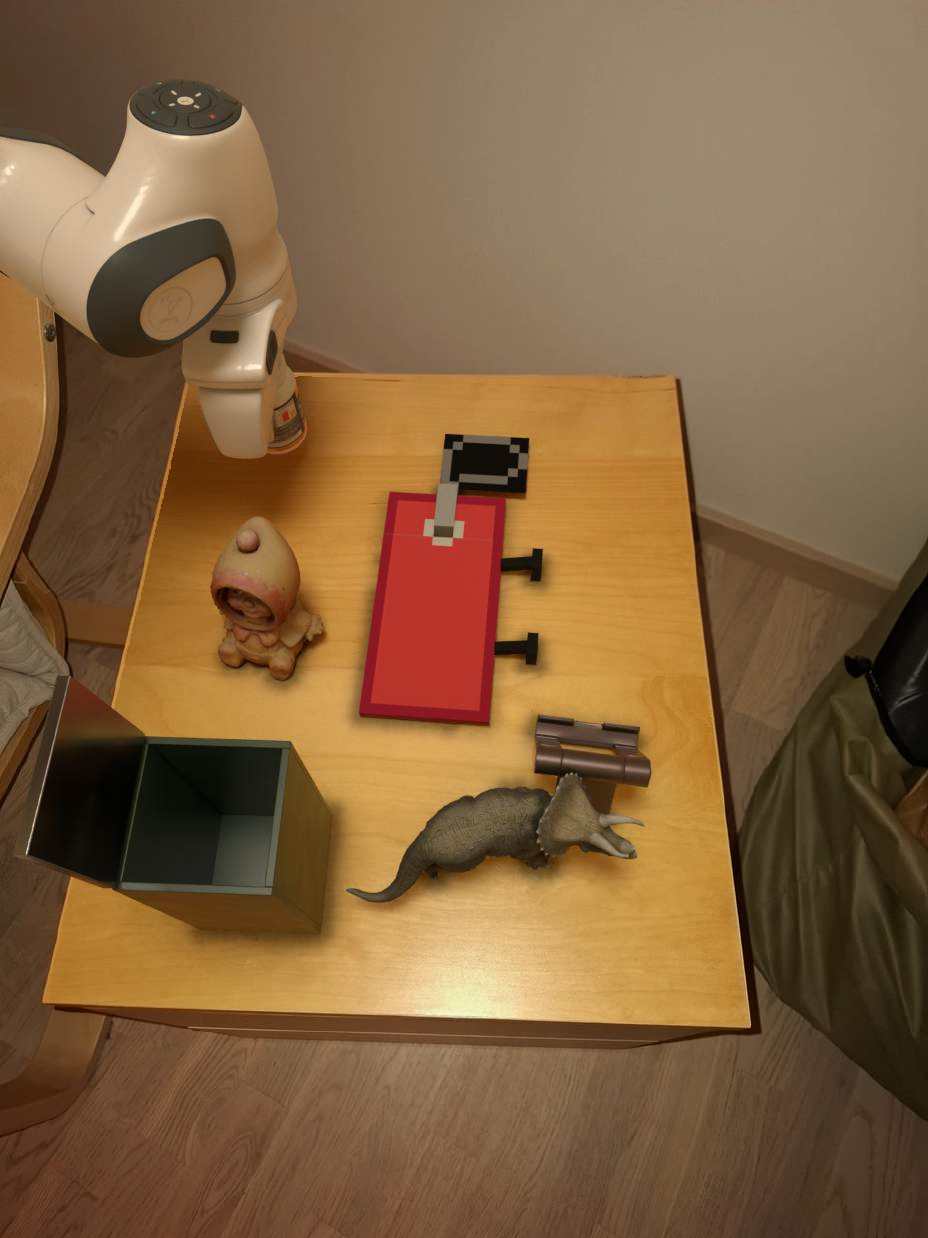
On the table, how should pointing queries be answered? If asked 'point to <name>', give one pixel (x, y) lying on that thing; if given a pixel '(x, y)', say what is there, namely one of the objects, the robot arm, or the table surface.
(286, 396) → the pill bottle
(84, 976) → the table surface
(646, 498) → the table surface
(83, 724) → the trash can lid
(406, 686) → the red board with handle
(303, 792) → the trash can
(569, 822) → the toy dinosaur
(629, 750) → the tablet stand
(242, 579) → the figurine
